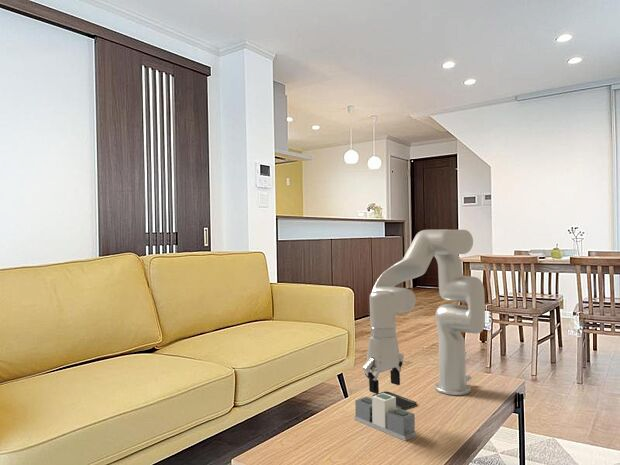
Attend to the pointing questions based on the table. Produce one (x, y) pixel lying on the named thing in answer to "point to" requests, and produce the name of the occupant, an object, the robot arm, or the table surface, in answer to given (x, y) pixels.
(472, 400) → the table surface
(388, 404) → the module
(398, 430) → the rail
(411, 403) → the phone
